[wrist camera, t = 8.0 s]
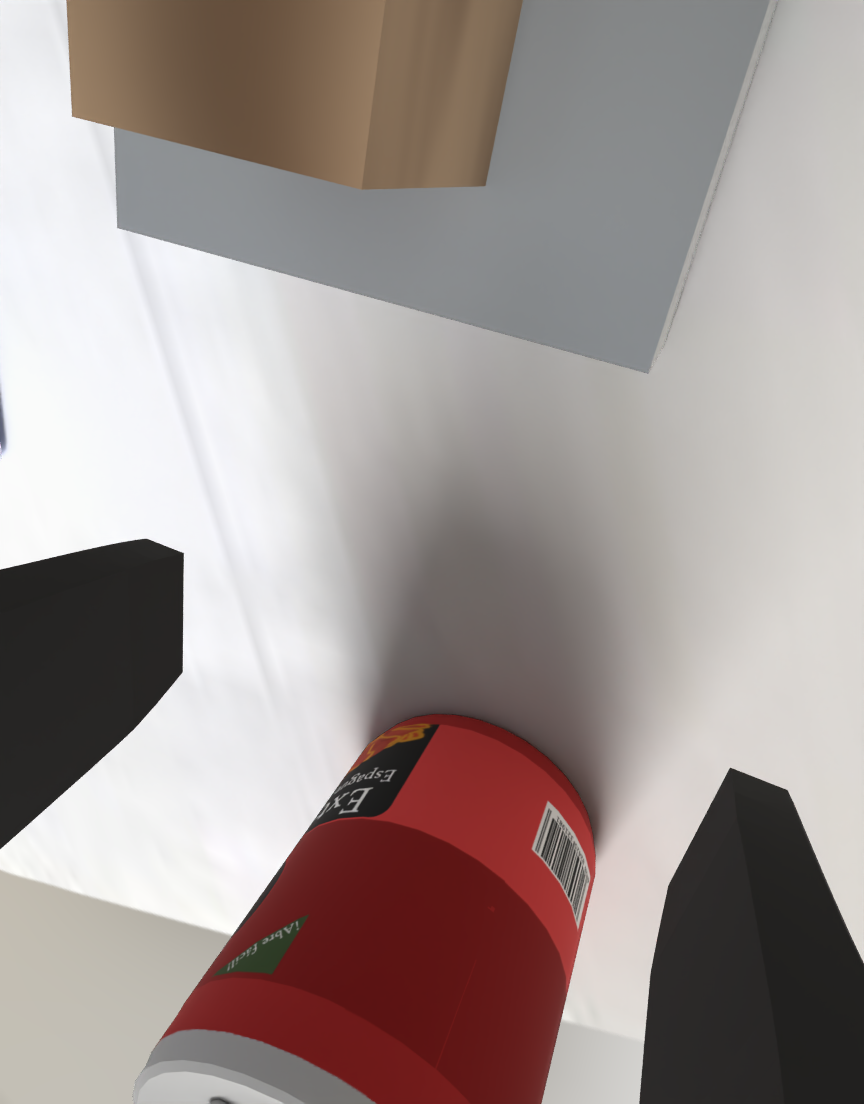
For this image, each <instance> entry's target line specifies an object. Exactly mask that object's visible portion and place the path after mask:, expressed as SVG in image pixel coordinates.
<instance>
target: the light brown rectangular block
mask: <svg viewBox="0 0 864 1104" xmlns="http://www.w3.org/2000/svg"><path fill="white" fill-rule="evenodd" d="M522 3H523V0H67V20H68V40H69V61H70V81H71V102H72V117H76V118H80V119H84V120H88V121H92V122H96V123H100V124H104V125H108V126H112V127H116V128H120V129H123V130H127V131H131V132H135V133H139V134H143V135H147V136H151V137H155V138H159V139H163V140H167V141H171V142H175V143H179V144H183V145H187V146H191V147H195V148H199V149H203V150H206V151H210V152H214V153H218V154H222V155H226V156H230V157H234V158H238V159H242V160H246V161H250V162H254V163H258V164H262V165H266V166H270V167H274V168H278V169H282V170H286V171H289V172H293V173H297V174H301V175H305V176H309V177H313V178H317V179H321V180H325V181H329V182H333V183H337V184H341V185H345V186H349V187H353V188H357V189H361V190H369V189H405V188H442V187H479V186H486V181H487V176H488V171H489V166H490V161H491V156H492V151H493V146H494V141H495V136H496V131H497V126H498V122H499V117H500V112H501V107H502V102H503V97H504V92H505V87H506V82H507V77H508V72H509V67H510V62H511V57H512V52H513V47H514V42H515V37H516V33H517V28H518V23H519V18H520V13H521V8H522Z"/></svg>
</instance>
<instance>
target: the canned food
mask: <svg viewBox="0 0 864 1104" xmlns="http://www.w3.org/2000/svg"><path fill="white" fill-rule="evenodd" d="M594 877H595V847H594V840H593V833H592V829H591V825H590V820H589V816H588V813H587V811H586V809H585V807H584V805H583V802H582V800H581V798H580V796H579V794H578V793H577V791H576V790H575V789H574V787H573V786H572V784H571V783H570V782H569V780H568V779H567V777H566V776H565V775H564V774H563V773H562V772H561V771H560V770H559V769H558V768H557V767H556V766H555V765H554V764H553V763H552V762H551V761H550V760H549V759H548V758H547V757H546V756H545V755H544V754H542V753H541V752H540V751H538V750H537V749H536V748H534V747H533V746H532V745H530V744H529V743H528V742H526V741H525V740H523V739H521V738H519V737H517V736H515V735H514V734H512V733H510V732H508V731H506V730H505V729H502V728H500V727H497V726H495V725H492V724H489V723H487V722H484V721H481V720H478V719H473V718H468V717H464V716H459V715H444V714H432V715H426V716H419V717H414V718H412V719H409V720H406V721H404V722H401V723H399V724H397V725H396V726H394V727H392V728H391V729H389V730H388V731H386V732H385V733H383V734H382V735H380V736H379V737H378V738H376V739H375V740H373V741H372V742H371V743H369V744H368V745H367V747H366V748H365V750H364V751H363V752H362V754H361V755H360V756H359V758H358V759H357V760H356V762H355V763H354V765H353V766H352V767H351V769H350V770H349V772H348V773H347V774H346V776H345V777H344V779H343V780H342V782H341V783H340V784H339V786H338V787H337V789H336V790H335V791H334V793H333V794H332V796H331V797H330V798H329V800H328V801H327V803H326V804H325V806H324V807H323V808H322V810H321V811H320V813H319V814H318V815H317V817H316V818H315V820H314V821H313V822H312V824H311V825H310V827H309V828H308V830H307V831H306V832H305V834H304V835H303V837H302V838H301V839H300V841H299V842H298V844H297V845H296V846H295V848H294V849H293V851H292V852H291V853H290V855H289V856H288V858H287V859H286V861H285V862H284V863H283V865H282V866H281V868H280V869H279V870H278V872H277V873H276V875H275V876H274V877H273V879H272V880H271V882H270V883H269V885H268V886H267V887H266V889H265V890H264V892H263V893H262V894H261V896H260V897H259V899H258V900H257V901H256V903H255V904H254V906H253V907H252V909H251V910H250V911H249V913H248V914H247V916H246V917H245V918H244V920H243V921H242V923H241V924H240V925H239V927H238V928H237V930H236V931H235V933H234V934H233V935H232V937H231V938H230V940H229V941H228V942H227V944H226V945H225V947H224V948H223V950H222V951H221V952H220V954H219V955H218V957H217V958H216V959H215V961H214V962H213V964H212V965H211V966H210V968H209V969H208V971H207V972H206V974H205V975H204V976H203V978H202V979H201V981H200V982H199V983H198V985H197V986H196V988H195V989H194V991H193V992H192V993H191V995H190V996H189V998H188V999H187V1000H186V1002H185V1003H184V1005H183V1007H182V1008H181V1010H180V1011H179V1013H178V1015H177V1016H176V1018H175V1019H174V1021H173V1022H172V1024H171V1025H170V1026H169V1028H168V1029H167V1031H166V1032H165V1033H164V1035H163V1036H162V1038H161V1039H160V1041H159V1042H158V1044H157V1045H156V1046H155V1048H154V1049H153V1051H152V1052H151V1055H150V1057H149V1060H148V1062H147V1064H146V1066H145V1068H144V1069H143V1070H142V1072H141V1074H140V1075H139V1076H138V1078H137V1079H136V1081H135V1086H134V1091H133V1102H134V1104H541V1103H542V1098H543V1094H544V1090H545V1086H546V1081H547V1077H548V1073H549V1069H550V1064H551V1060H552V1056H553V1052H554V1047H555V1043H556V1039H557V1035H558V1030H559V1026H560V1022H561V1018H562V1013H563V1009H564V1005H565V1001H566V996H567V992H568V988H569V984H570V979H571V975H572V971H573V967H574V962H575V958H576V954H577V950H578V945H579V941H580V937H581V933H582V928H583V924H584V920H585V916H586V911H587V907H588V903H589V899H590V894H591V890H592V886H593V882H594Z"/></svg>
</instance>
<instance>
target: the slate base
mask: <svg viewBox="0 0 864 1104" xmlns="http://www.w3.org/2000/svg"><path fill="white" fill-rule="evenodd" d="M777 3H778V0H523V3H522V8H521V13H520V18H519V23H518V28H517V33H516V37H515V42H514V47H513V52H512V57H511V62H510V67H509V72H508V77H507V82H506V87H505V92H504V97H503V102H502V107H501V112H500V117H499V122H498V126H497V131H496V136H495V141H494V146H493V151H492V156H491V161H490V166H489V171H488V176H487V181H486V186H479V187H442V188H405V189H369V190H361V189H357V188H353V187H349V186H345V185H341V184H337V183H333V182H329V181H325V180H321V179H317V178H313V177H309V176H305V175H301V174H297V173H293V172H289V171H286V170H282V169H278V168H274V167H270V166H266V165H262V164H258V163H254V162H250V161H246V160H242V159H238V158H234V157H230V156H226V155H222V154H218V153H214V152H210V151H206V150H203V149H199V148H195V147H191V146H187V145H183V144H179V143H175V142H171V141H167V140H163V139H159V138H155V137H151V136H147V135H143V134H139V133H135V132H131V131H127V130H123V129H120V128H116V127H114V140H115V170H116V200H117V228H120V229H123V230H127V231H131V232H134V233H138V234H142V235H145V236H149V237H152V238H156V239H160V240H163V241H167V242H171V243H174V244H178V245H182V246H185V247H189V248H193V249H196V250H200V251H203V252H207V253H211V254H214V255H218V256H222V257H225V258H229V259H233V260H236V261H240V262H244V263H247V264H251V265H254V266H258V267H262V268H265V269H269V270H273V271H276V272H280V273H284V274H287V275H291V276H295V277H298V278H302V279H306V280H309V281H313V282H316V283H320V284H324V285H327V286H331V287H335V288H338V289H342V290H346V291H349V292H353V293H357V294H360V295H364V296H367V297H371V298H375V299H378V300H382V301H386V302H389V303H393V304H397V305H400V306H404V307H408V308H411V309H415V310H418V311H422V312H426V313H429V314H433V315H437V316H440V317H444V318H448V319H451V320H455V321H459V322H462V323H466V324H469V325H473V326H477V327H480V328H484V329H488V330H491V331H495V332H499V333H502V334H506V335H510V336H513V337H517V338H521V339H524V340H528V341H531V342H535V343H539V344H542V345H546V346H550V347H553V348H557V349H561V350H564V351H568V352H572V353H575V354H579V355H582V356H586V357H590V358H593V359H597V360H601V361H604V362H608V363H612V364H615V365H619V366H623V367H626V368H630V369H633V370H637V371H641V372H644V373H649V371H650V370H651V368H652V366H653V365H654V363H655V361H656V360H657V358H658V356H659V354H660V353H661V351H662V349H663V348H664V345H665V341H666V338H667V335H668V332H669V329H670V326H671V323H672V320H673V317H674V314H675V311H676V308H677V305H678V302H679V299H680V296H681V293H682V290H683V287H684V284H685V281H686V278H687V275H688V272H689V269H690V266H691V263H692V260H693V257H694V254H695V251H696V248H697V245H698V242H699V239H700V236H701V233H702V230H703V227H704V224H705V221H706V218H707V215H708V212H709V209H710V206H711V203H712V199H713V196H714V193H715V190H716V187H717V184H718V181H719V178H720V175H721V172H722V169H723V166H724V163H725V160H726V157H727V154H728V151H729V148H730V145H731V142H732V139H733V136H734V133H735V130H736V127H737V124H738V121H739V118H740V115H741V112H742V109H743V106H744V103H745V100H746V97H747V94H748V91H749V88H750V85H751V82H752V79H753V76H754V73H755V70H756V67H757V64H758V61H759V57H760V54H761V51H762V48H763V45H764V42H765V39H766V36H767V33H768V30H769V27H770V24H771V21H772V18H773V15H774V12H775V9H776V6H777Z"/></svg>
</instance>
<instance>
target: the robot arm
mask: <svg viewBox="0 0 864 1104" xmlns="http://www.w3.org/2000/svg"><path fill="white" fill-rule="evenodd" d="M1 456H2V452H1V444H0V460H1ZM183 569H184V553H182V552H179V551H177V550H174V549H171V548H169V547H166V546H164V545H161V544H159V543H156V542H154V541H151V540H149V539H140V540H134V541H127V542H121V543H116V544H111V545H106V546H101V547H97V548H92V549H88V550H83V551H79V552H74V553H70V554H66V555H61V556H57V557H53V558H49V559H44V560H40V561H36V562H31V563H27V564H23V565H19V566H14V567H10V568H6V569H1V570H0V849H1V848H2V847H3V846H4V845H6V844H7V843H8V842H9V841H10V840H11V839H12V838H13V837H15V836H16V835H17V834H18V833H19V832H20V831H21V830H22V829H24V828H25V827H26V826H27V825H28V824H29V823H30V822H31V821H33V820H34V819H35V818H36V817H37V816H38V815H39V814H40V813H42V812H43V811H44V810H45V809H46V808H47V807H48V806H49V805H51V804H52V803H53V802H54V801H55V800H56V799H57V798H58V797H60V796H61V795H62V794H63V793H64V792H65V791H66V790H67V789H69V788H70V787H71V786H72V785H73V784H74V783H75V782H76V781H78V780H79V779H80V778H81V777H82V776H83V775H84V774H85V773H87V772H88V771H89V770H90V769H91V768H92V767H93V766H94V765H95V764H97V763H98V762H99V761H100V760H101V759H102V758H103V757H104V756H105V755H106V754H108V753H109V752H110V751H111V750H112V749H113V748H114V747H115V746H116V745H117V744H119V743H120V742H121V741H122V740H123V739H124V738H125V737H126V736H127V735H128V734H129V733H130V732H131V731H133V730H134V729H135V727H136V726H137V725H138V724H139V723H140V722H141V721H142V720H143V718H144V717H145V716H146V715H147V714H148V713H149V712H150V711H151V709H152V708H153V707H154V706H155V705H156V704H157V703H158V701H159V700H160V699H161V698H162V697H163V695H164V694H165V693H166V692H167V691H168V689H169V688H170V687H171V686H172V685H173V683H174V682H175V681H176V680H177V678H178V677H179V676H180V675H181V674H182V672H183ZM640 1104H864V963H863V961H862V959H861V957H860V954H859V952H858V950H857V948H856V946H855V944H854V942H853V940H852V938H851V935H850V933H849V931H848V929H847V926H846V924H845V922H844V920H843V918H842V915H841V913H840V911H839V909H838V906H837V904H836V902H835V899H834V897H833V895H832V893H831V890H830V888H829V886H828V883H827V881H826V879H825V876H824V874H823V872H822V869H821V867H820V865H819V862H818V860H817V858H816V855H815V853H814V851H813V848H812V846H811V843H810V841H809V839H808V836H807V834H806V831H805V829H804V827H803V824H802V822H801V819H800V817H799V815H798V812H797V810H796V808H795V805H794V803H793V801H792V799H791V797H790V795H789V793H788V791H787V790H786V789H783V788H781V787H778V786H775V785H773V784H770V783H768V782H765V781H763V780H760V779H758V778H755V777H753V776H750V775H747V774H745V773H742V772H740V771H737V770H735V769H732V768H730V769H729V771H728V773H727V775H726V777H725V779H724V780H723V782H722V784H721V786H720V788H719V790H718V792H717V794H716V796H715V798H714V800H713V801H712V803H711V805H710V807H709V809H708V811H707V813H706V815H705V817H704V819H703V821H702V822H701V824H700V826H699V828H698V830H697V832H696V834H695V836H694V838H693V840H692V842H691V843H690V845H689V847H688V849H687V851H686V853H685V855H684V857H683V859H682V861H681V863H680V864H679V866H678V868H677V870H676V872H675V874H674V876H673V878H672V880H671V882H670V884H669V886H668V890H667V895H666V900H665V904H664V909H663V914H662V919H661V923H660V928H659V933H658V938H657V943H656V948H655V953H654V958H653V964H652V969H651V976H650V987H649V997H648V1009H647V1020H646V1031H645V1043H644V1055H643V1067H642V1078H641V1092H640Z"/></svg>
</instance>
